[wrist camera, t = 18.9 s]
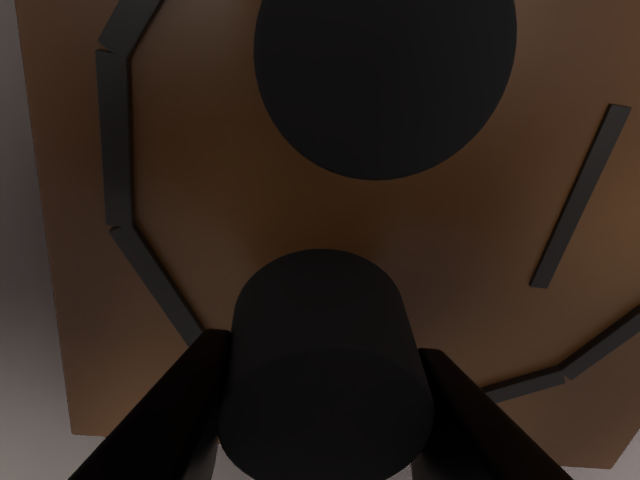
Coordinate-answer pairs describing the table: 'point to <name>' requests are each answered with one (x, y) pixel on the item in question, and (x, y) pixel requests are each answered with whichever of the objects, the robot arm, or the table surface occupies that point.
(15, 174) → the table surface
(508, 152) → the board
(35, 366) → the table surface
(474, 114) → the dot
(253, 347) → the dot
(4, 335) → the table surface
